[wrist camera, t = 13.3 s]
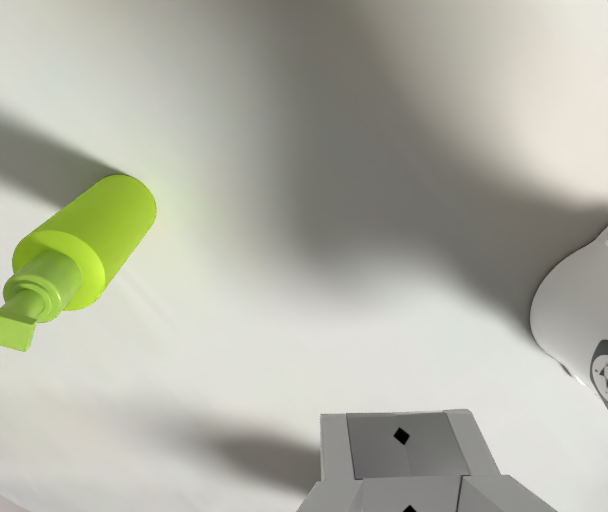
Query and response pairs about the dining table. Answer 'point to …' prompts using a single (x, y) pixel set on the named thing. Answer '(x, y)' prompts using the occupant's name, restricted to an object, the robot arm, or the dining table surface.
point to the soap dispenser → (74, 256)
